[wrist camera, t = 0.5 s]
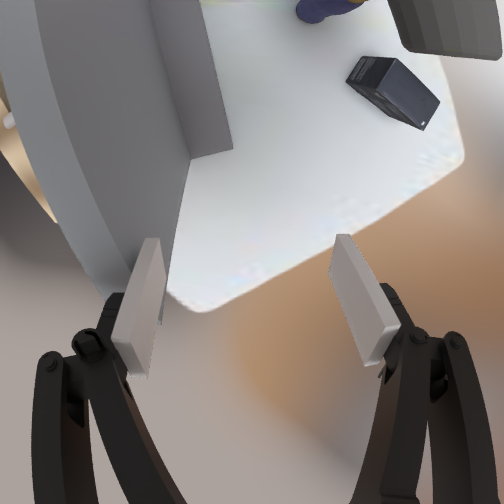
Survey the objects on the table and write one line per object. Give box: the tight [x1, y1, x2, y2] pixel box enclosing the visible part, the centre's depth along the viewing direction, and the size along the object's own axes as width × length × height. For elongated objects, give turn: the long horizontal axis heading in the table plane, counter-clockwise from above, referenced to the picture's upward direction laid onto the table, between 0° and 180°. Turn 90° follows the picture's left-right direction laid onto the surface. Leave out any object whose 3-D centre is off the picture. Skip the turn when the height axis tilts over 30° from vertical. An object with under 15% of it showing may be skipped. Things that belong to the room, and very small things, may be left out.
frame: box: [0, 70, 58, 223], centre depth 19 cm, size 24×4×18 cm, turn 11°
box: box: [346, 56, 440, 131], centre depth 32 cm, size 9×6×10 cm, turn 61°
